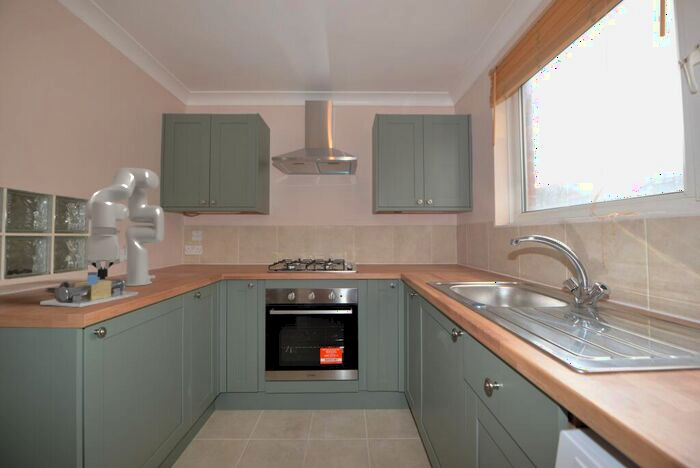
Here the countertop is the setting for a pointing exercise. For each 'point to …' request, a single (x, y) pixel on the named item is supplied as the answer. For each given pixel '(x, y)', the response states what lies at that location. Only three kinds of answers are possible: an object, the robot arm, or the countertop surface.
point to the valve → (64, 284)
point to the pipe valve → (89, 293)
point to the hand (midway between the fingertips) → (102, 279)
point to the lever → (92, 278)
